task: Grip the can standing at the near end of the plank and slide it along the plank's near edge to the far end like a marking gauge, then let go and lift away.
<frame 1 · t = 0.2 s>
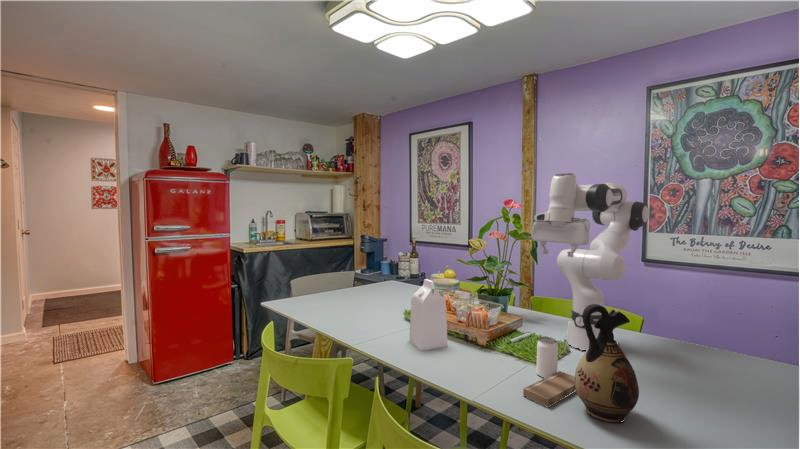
hand: (557, 255, 137), 39 cm above the table, tool pointing down, fingers open, 8 cm apart
can: (546, 375, 127), on the table
milk: (428, 343, 155), on the table
plank: (554, 391, 116), on the table
ceramic jug: (601, 413, 104), on the table
ammunition clip: (476, 344, 155), on the table
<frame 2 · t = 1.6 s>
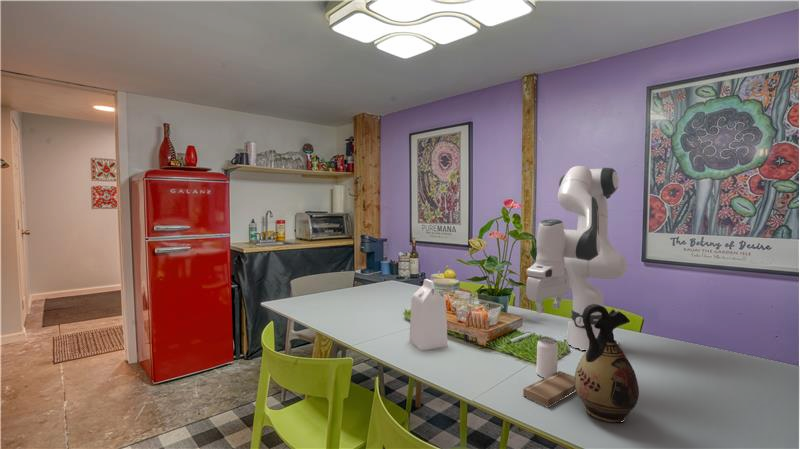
hand: (548, 310, 126), 22 cm above the table, tool pointing down, fingers open, 8 cm apart
nothing on the table moved.
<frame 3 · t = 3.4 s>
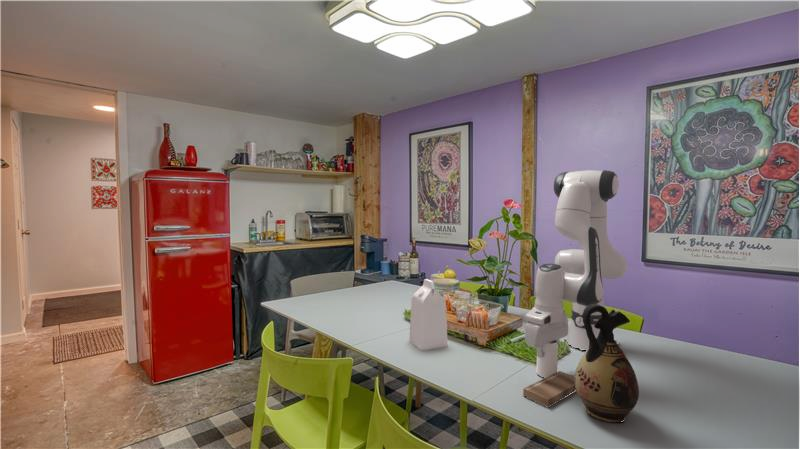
hand: (547, 354, 126), 7 cm above the table, tool pointing down, fingers closed on can, 6 cm apart
can: (546, 375, 127), on the table, touching gripper
everything else where it was.
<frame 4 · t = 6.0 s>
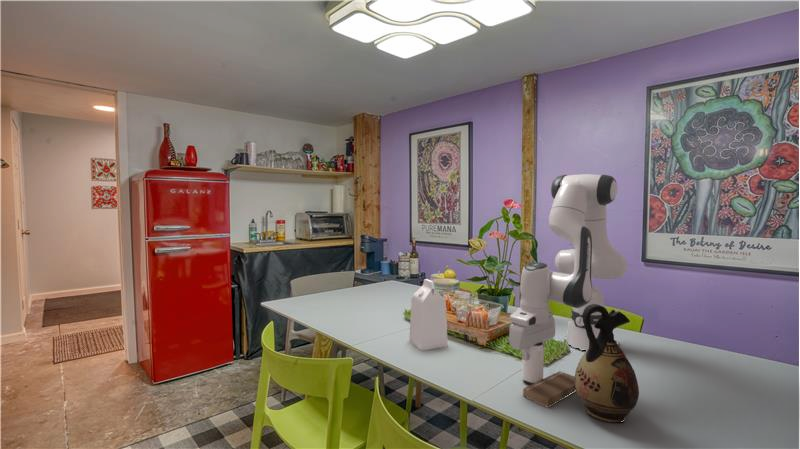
hand: (532, 356, 121), 8 cm above the table, tool pointing down, fingers closed on can, 6 cm apart
can: (532, 379, 122), point 1 cm above the table, touching gripper
everything else where it was.
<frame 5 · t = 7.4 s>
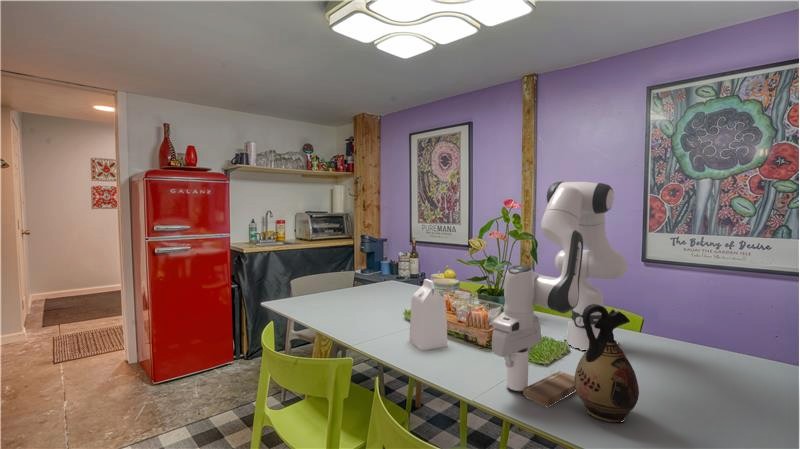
hand: (517, 363, 116), 8 cm above the table, tool pointing down, fingers closed on can, 6 cm apart
can: (516, 387, 117), point 1 cm above the table, touching gripper
everything else where it was.
when the fingers open (7 cm above the table, at t = 8.6 s): can stays where it is, on the table.
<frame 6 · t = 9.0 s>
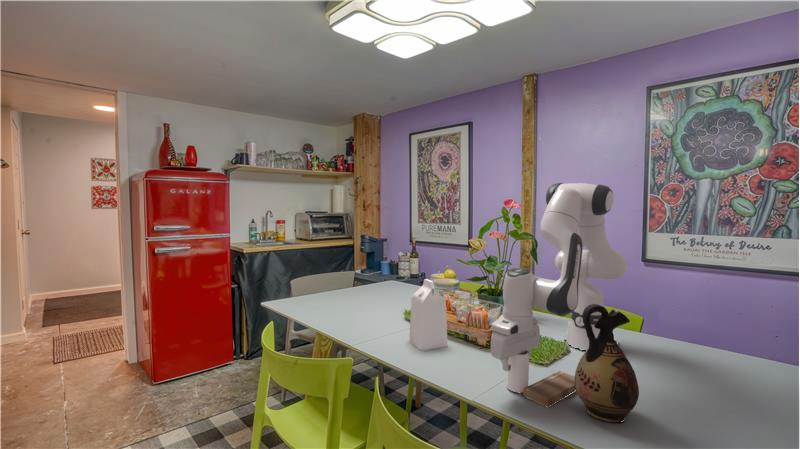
hand: (516, 366, 116), 7 cm above the table, tool pointing down, fingers open, 8 cm apart
can: (517, 389, 117), on the table, touching gripper
everything else where it was.
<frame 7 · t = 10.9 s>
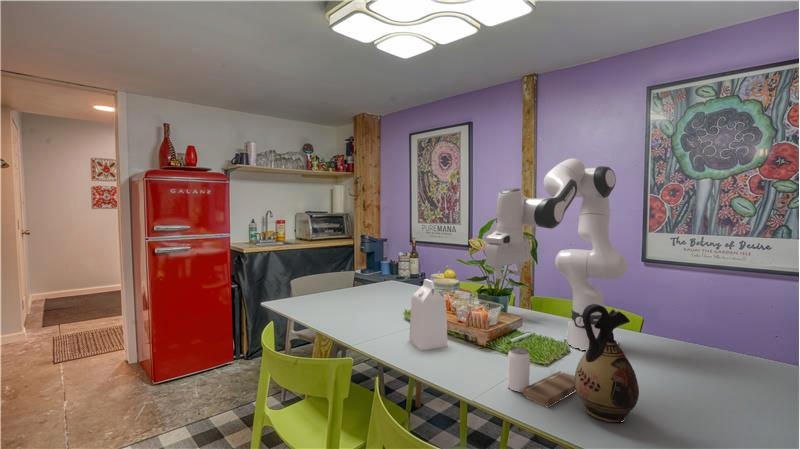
hand: (508, 276, 129), 32 cm above the table, tool pointing down, fingers open, 8 cm apart
can: (518, 388, 118), on the table
everything else where it was.
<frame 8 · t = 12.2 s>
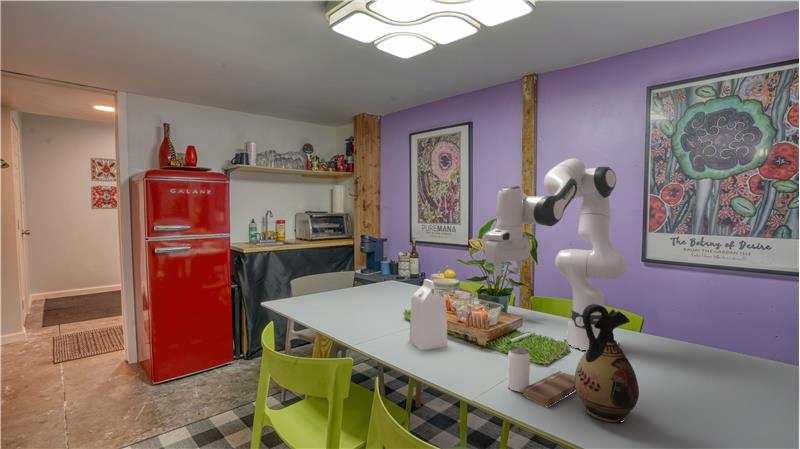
hand: (508, 274, 130), 33 cm above the table, tool pointing down, fingers open, 8 cm apart
nothing on the table moved.
at the end: can inside the target area (1.8 cm from its centre), on the table; can tilted 0°; the gripper is holding nothing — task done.
